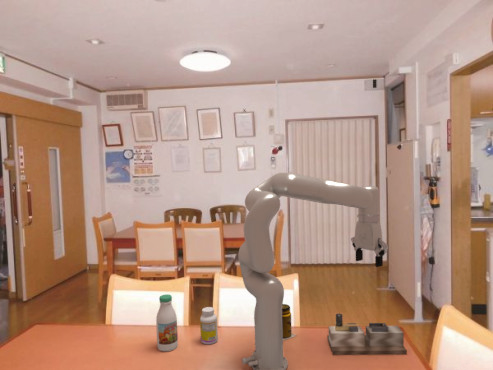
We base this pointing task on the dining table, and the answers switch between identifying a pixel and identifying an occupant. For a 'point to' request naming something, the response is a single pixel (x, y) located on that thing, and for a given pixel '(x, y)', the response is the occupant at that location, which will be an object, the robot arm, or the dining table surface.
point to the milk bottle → (166, 325)
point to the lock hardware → (375, 327)
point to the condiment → (286, 322)
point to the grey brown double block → (366, 341)
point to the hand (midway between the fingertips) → (368, 263)
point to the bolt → (340, 325)
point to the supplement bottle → (208, 326)
